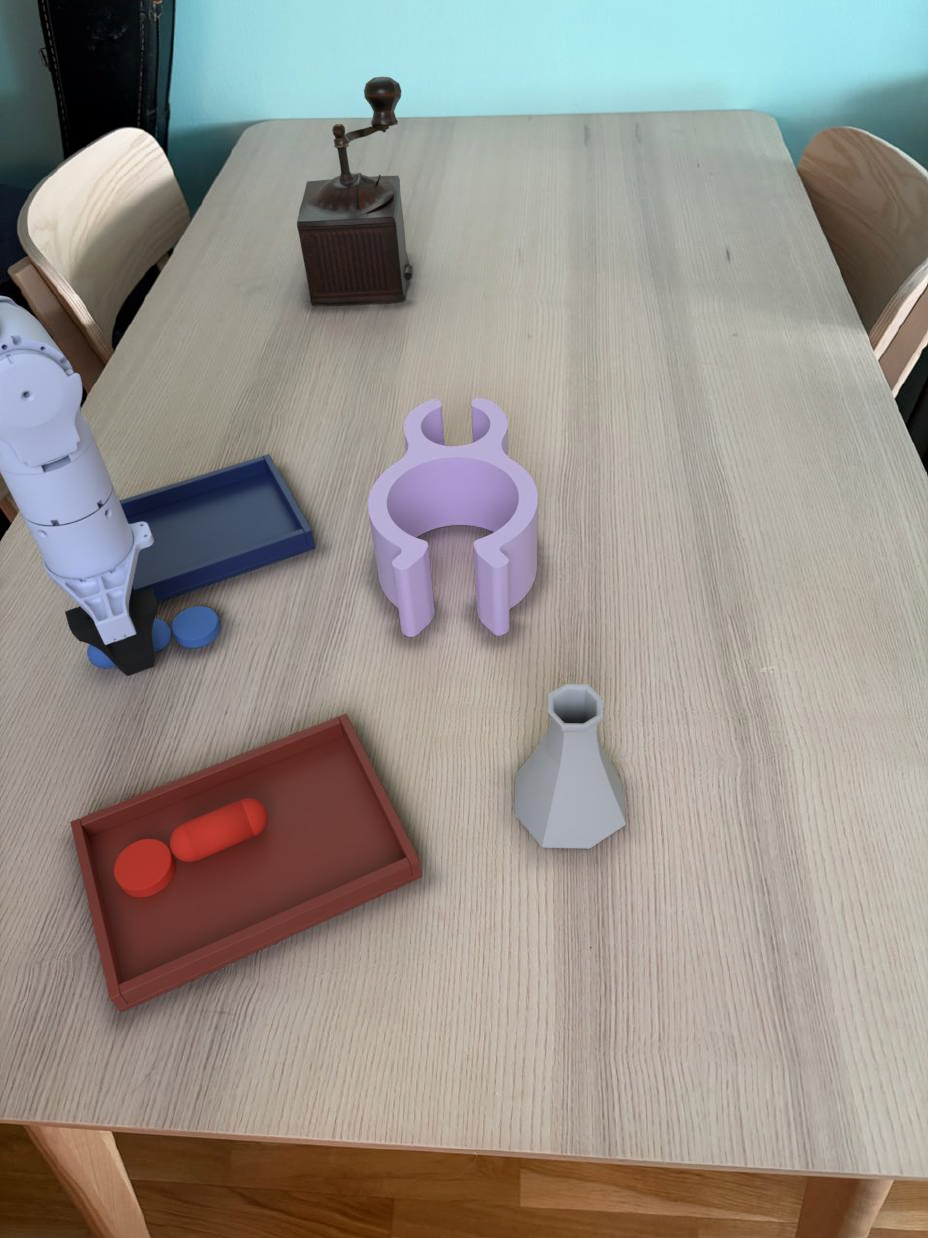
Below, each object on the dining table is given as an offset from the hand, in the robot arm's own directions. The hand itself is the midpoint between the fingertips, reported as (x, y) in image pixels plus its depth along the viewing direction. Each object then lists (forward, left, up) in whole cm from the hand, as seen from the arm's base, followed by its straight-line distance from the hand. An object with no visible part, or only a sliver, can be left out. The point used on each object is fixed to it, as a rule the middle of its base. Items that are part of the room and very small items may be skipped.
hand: (130, 640), depth 71 cm
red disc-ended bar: (0, -18, -1) cm, 19 cm away
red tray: (+2, -20, -1) cm, 20 cm away
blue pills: (+2, 0, -1) cm, 2 cm away
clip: (+26, 0, -2) cm, 26 cm away
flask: (+22, -26, -2) cm, 34 cm away
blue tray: (+7, +10, -1) cm, 12 cm away
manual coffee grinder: (+36, +46, -2) cm, 58 cm away
